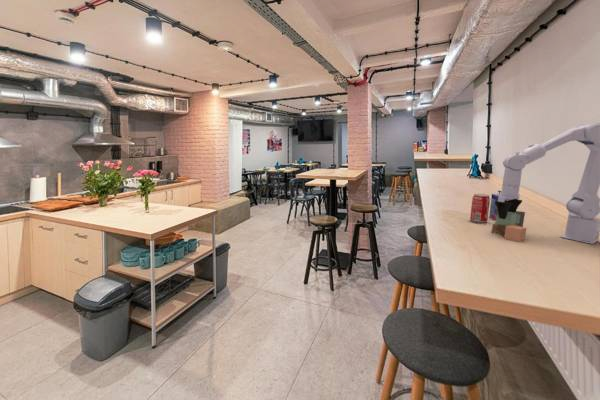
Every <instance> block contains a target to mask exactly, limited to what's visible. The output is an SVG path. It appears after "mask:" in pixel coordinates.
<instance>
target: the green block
mask: <svg viewBox="0 0 600 400" xmlns="http://www.w3.org/2000/svg"><path fill="white" fill-rule="evenodd" d="M516 216H517V213H514V212H507V216H506V218H505V219H501V218H499V216H498V214H497V221H496V220H495V221H496V224H500V225H505V226H509V225H515V222H516Z"/></svg>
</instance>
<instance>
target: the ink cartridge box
mask: <svg viewBox="0 0 600 400" xmlns="http://www.w3.org/2000/svg"><path fill="white" fill-rule="evenodd" d="M497 192H498V193H492V194H491V198H490V205H489V213H488V218H490V219H491V220H494V221H497V214H498V209H497V206H496V204H495V201H496V200H498V197H500V196H498V194H501V192H502V190H497Z"/></svg>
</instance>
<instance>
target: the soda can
mask: <svg viewBox="0 0 600 400" xmlns="http://www.w3.org/2000/svg"><path fill="white" fill-rule="evenodd" d="M490 205H491V198H490V195H489V194H485V193H474V194H473V196H472V201H471V208H470V221H471V222H473V223H478V224H484V223H487V222H488V218H489V214H490Z"/></svg>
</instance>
